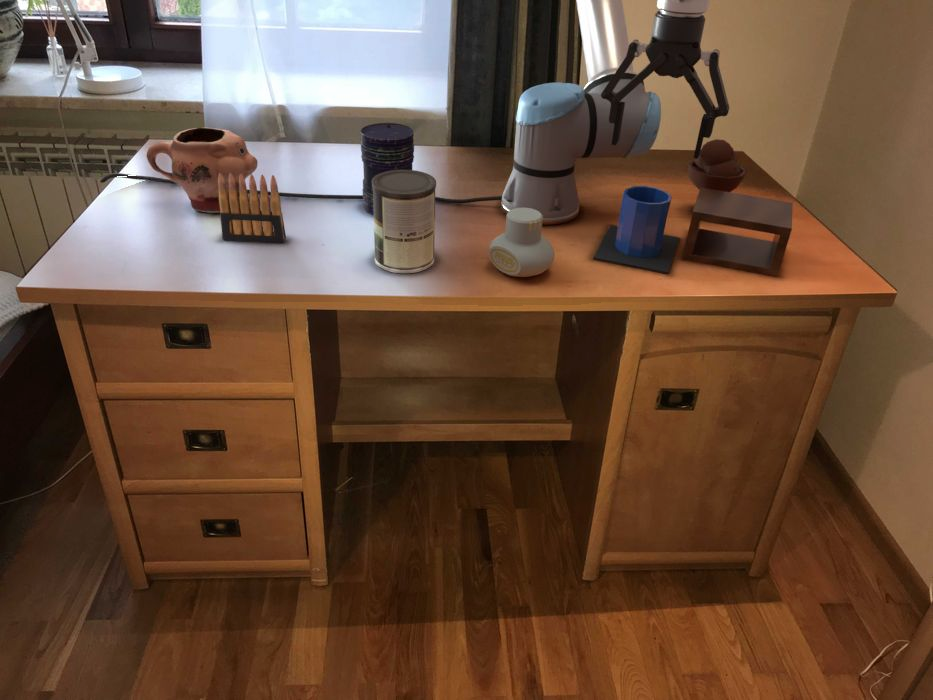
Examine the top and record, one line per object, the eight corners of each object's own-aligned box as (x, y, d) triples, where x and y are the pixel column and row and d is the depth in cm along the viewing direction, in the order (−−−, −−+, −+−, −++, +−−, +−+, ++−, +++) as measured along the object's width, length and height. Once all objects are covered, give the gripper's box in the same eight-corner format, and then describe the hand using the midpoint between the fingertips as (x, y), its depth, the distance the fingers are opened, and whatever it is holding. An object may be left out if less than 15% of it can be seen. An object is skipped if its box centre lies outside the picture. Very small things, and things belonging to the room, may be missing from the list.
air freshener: (560, 273, 127) (567, 218, 121) (527, 289, 122) (533, 232, 116) (512, 251, 133) (517, 197, 128) (479, 265, 128) (482, 209, 123)
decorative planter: (146, 218, 138) (131, 143, 131) (162, 192, 148) (149, 122, 141) (258, 218, 140) (249, 144, 133) (266, 193, 150) (259, 123, 143)
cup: (611, 252, 134) (620, 198, 128) (620, 234, 140) (628, 183, 134) (656, 261, 131) (667, 207, 126) (663, 242, 138) (674, 190, 132)
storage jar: (412, 218, 143) (412, 140, 135) (360, 216, 143) (357, 138, 134) (415, 198, 151) (415, 123, 143) (366, 196, 151) (363, 121, 143)
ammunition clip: (222, 240, 132) (212, 174, 126) (225, 235, 134) (216, 170, 127) (283, 243, 132) (277, 177, 126) (286, 238, 134) (279, 173, 127)
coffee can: (361, 260, 128) (358, 180, 120) (403, 241, 135) (402, 164, 127) (405, 280, 123) (405, 198, 115) (447, 259, 130) (449, 180, 122)
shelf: (682, 258, 133) (692, 211, 128) (690, 232, 143) (700, 187, 138) (777, 277, 129) (792, 228, 124) (779, 248, 139) (792, 202, 134)
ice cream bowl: (738, 227, 146) (757, 151, 138) (679, 220, 147) (695, 144, 139) (733, 206, 155) (751, 133, 146) (677, 200, 156) (692, 127, 148)
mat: (592, 259, 132) (593, 257, 132) (610, 226, 144) (610, 224, 143) (668, 274, 128) (668, 272, 128) (679, 239, 140) (679, 237, 140)
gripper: (594, 7, 115) (577, 144, 127) (765, 26, 108) (730, 169, 120) (605, -1, 121) (587, 131, 133) (767, 17, 114) (734, 154, 126)
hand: (655, 149), depth 127 cm, fingers open, 13 cm apart
